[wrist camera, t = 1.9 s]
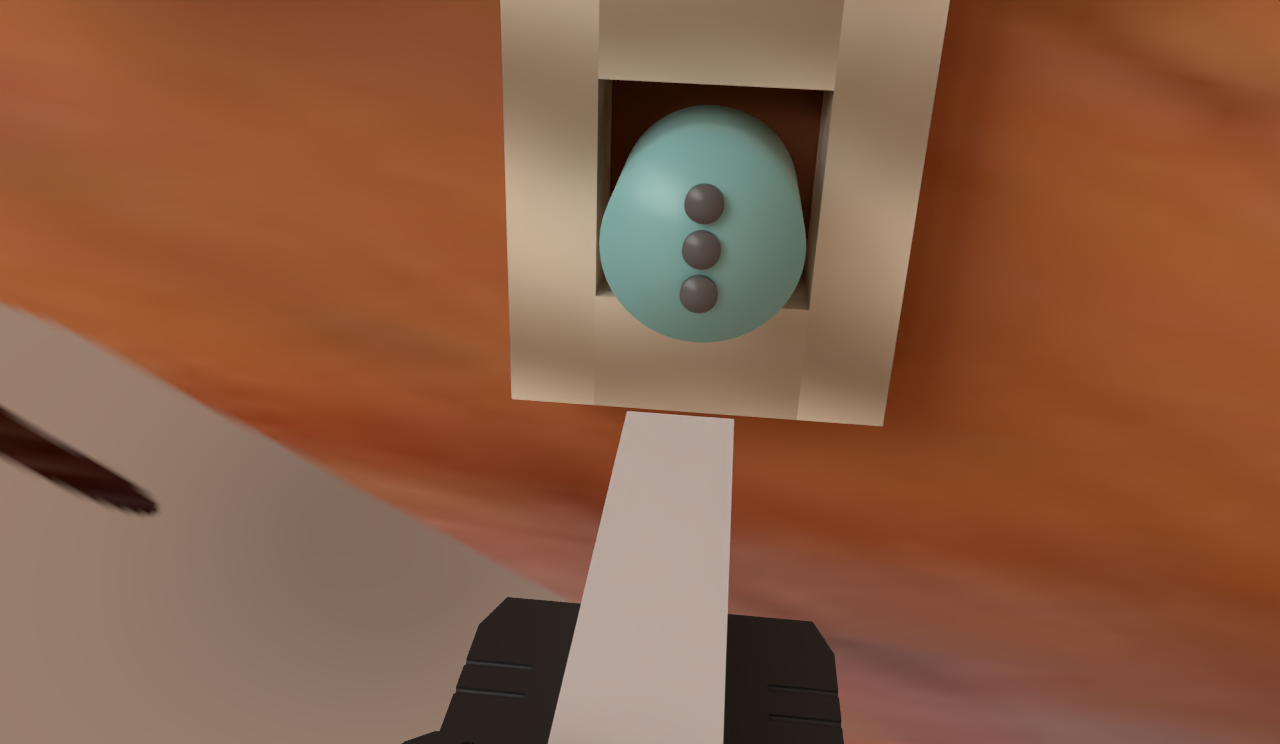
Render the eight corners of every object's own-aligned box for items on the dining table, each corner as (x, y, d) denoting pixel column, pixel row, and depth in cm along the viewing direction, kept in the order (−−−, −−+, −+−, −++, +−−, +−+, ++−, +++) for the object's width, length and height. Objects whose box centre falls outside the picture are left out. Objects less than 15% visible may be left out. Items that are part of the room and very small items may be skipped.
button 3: (623, 99, 27) (599, 141, 22) (806, 109, 26) (817, 153, 22) (619, 271, 29) (596, 339, 25) (788, 281, 28) (795, 352, 24)
